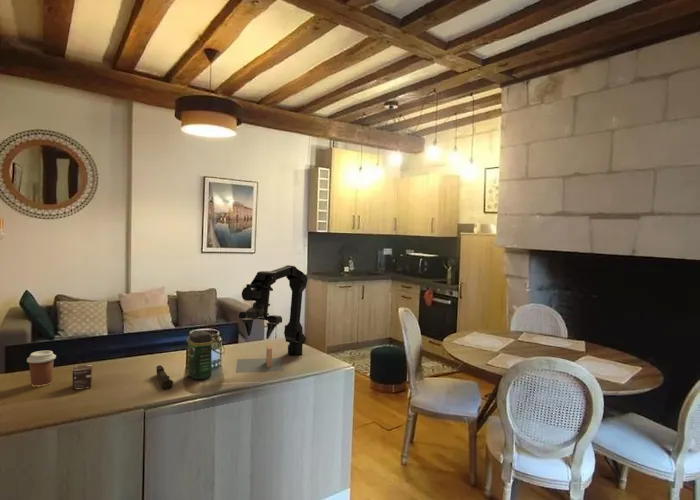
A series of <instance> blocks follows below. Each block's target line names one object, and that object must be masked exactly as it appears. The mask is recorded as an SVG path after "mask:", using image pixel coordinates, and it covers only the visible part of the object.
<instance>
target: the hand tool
mask: <svg viewBox="0 0 700 500" xmlns="http://www.w3.org/2000/svg"><path fill="white" fill-rule="evenodd" d="M155 370H156V379H157V380H158V381H159V383H160V385H161V390H162V391H167V389H168V390H171V389H172V388H173V385H174V381H173V380H172V379H170V376H169V375H167V373H166V372H165V368H164V367H163V365H157V366H156V369H155Z"/></svg>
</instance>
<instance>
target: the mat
mask: <svg viewBox="0 0 700 500" xmlns="http://www.w3.org/2000/svg"><path fill="white" fill-rule="evenodd" d="M260 372H264V373H265V372H284V364H283V358H282V357H272V367H266V357H265V358H239V359H237V361H236V369H235V373H260Z"/></svg>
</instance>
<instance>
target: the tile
mask: <svg viewBox="0 0 700 500" xmlns="http://www.w3.org/2000/svg"><path fill="white" fill-rule="evenodd" d="M265 349H266V350H265V352H266V353H265V358H266V367H272V358H273V345H272V344H266V347H265Z"/></svg>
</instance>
